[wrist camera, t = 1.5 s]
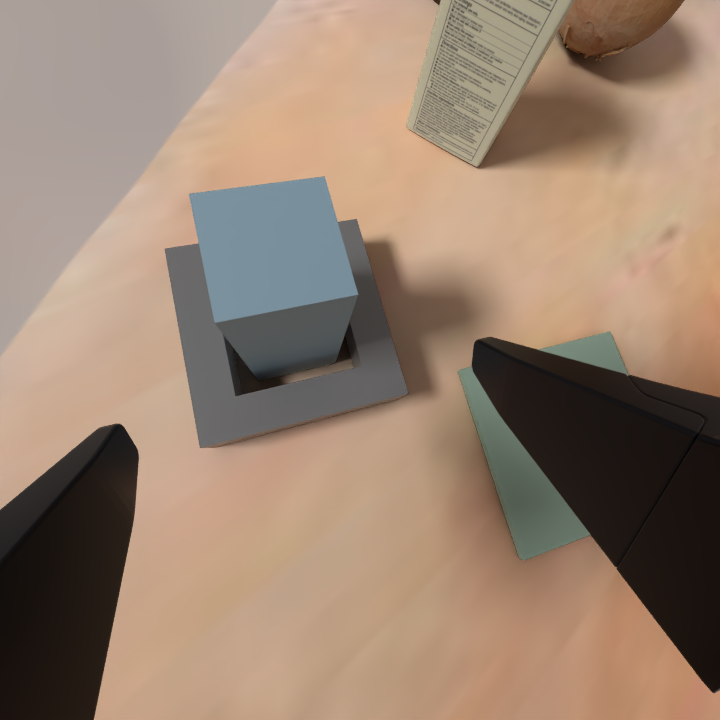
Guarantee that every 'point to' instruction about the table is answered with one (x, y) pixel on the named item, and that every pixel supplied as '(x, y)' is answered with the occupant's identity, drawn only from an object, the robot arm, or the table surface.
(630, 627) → the table surface
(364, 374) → the square socket block
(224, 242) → the tall square blue prism
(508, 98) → the skincare box
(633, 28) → the onion
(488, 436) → the green mat
